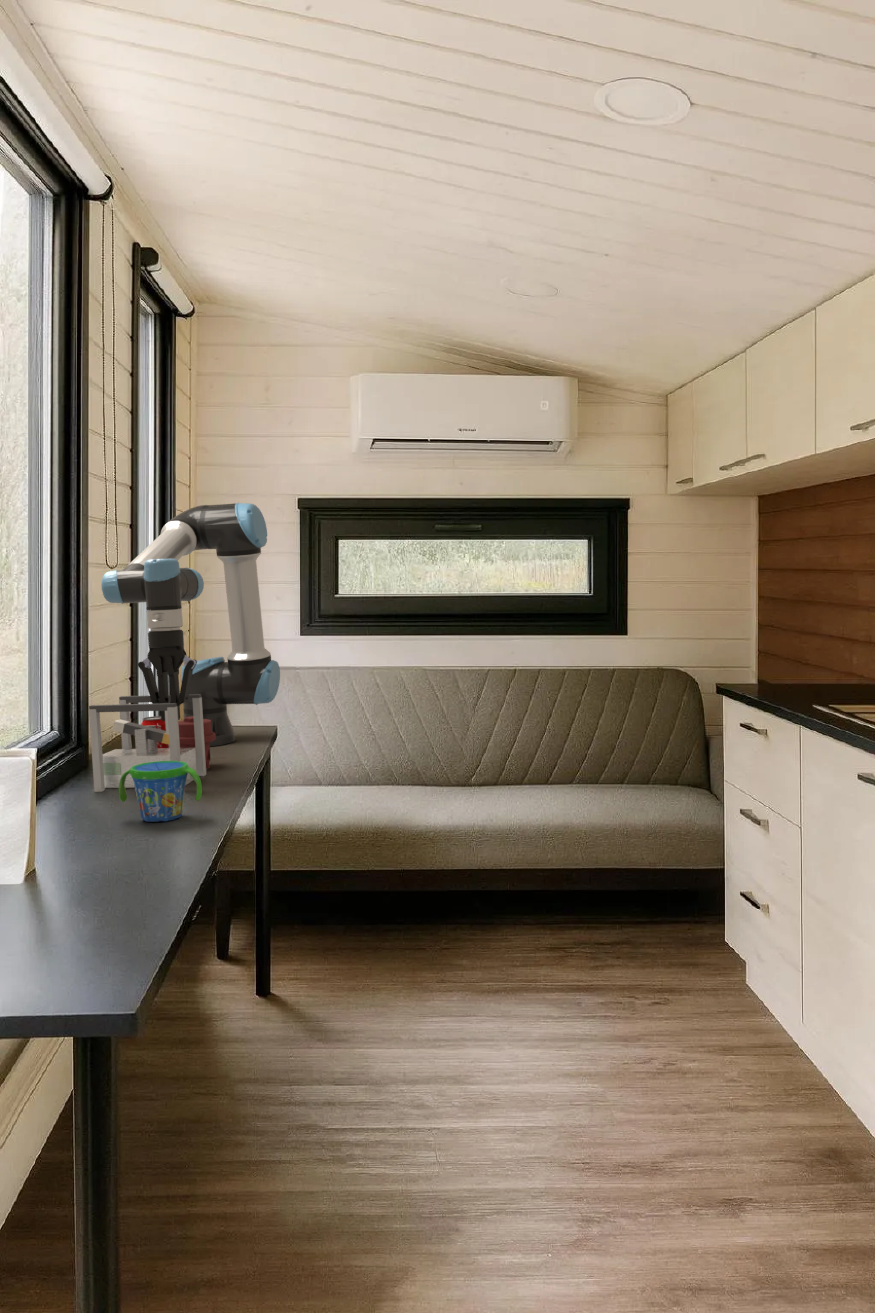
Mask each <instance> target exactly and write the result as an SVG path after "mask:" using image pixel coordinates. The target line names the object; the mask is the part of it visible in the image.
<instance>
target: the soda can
mask: <svg viewBox="0 0 875 1313" xmlns="http://www.w3.org/2000/svg"><path fill="white" fill-rule="evenodd" d="M140 725H144V726H153V725H156V729H160V730H164V731H166V723H165V721H162V719H161V715H155V716H146V717H143V718H142V722H141V723H140ZM157 748H170V745H169V744H165V743H162V742H158V741H157Z"/></svg>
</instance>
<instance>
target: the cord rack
mask: <svg viewBox="0 0 875 1313" xmlns="http://www.w3.org/2000/svg"><path fill="white" fill-rule="evenodd" d="M168 695H169V702H170V703H160V704H152V702H151V699H150V695H121V696H119V697H118V704H92V705H91V704H90V705H89V706H88V708H89V709H88V718H89V729H90V730H89V732H90V744H91V747H90V748H91V760H92V773H93V774H92V777H93V789H94V792H95V793H102V792H104V791H105V790H106V788H105V784H104V770H103V755H102V754H103V742H102V731H101V728H102V727H101V715H100V713H119V719H121V720H125V721H129V722H131V717H130V716H131V714H130V713H131V712H132V713H133V712H161V711H167V712H168V728H169V744H170V745H169V748H170V760H171V761H181V759H180V742H179V726H178V721H179V720H178V710H177V703H171V697H170V694H168ZM188 701H193V716H194V732H195V748H196V765H197V774H198V776H199V777H205V776H206V775H207V769H206V761H205V744H204V727H203V711H202V697H201V694H190V695H189V696H188ZM120 735H121V736H120V737H121V749H133V746H132V744H133V743H132V735H130V734H126V733H121V732H120Z"/></svg>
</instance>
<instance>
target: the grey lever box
mask: <svg viewBox="0 0 875 1313" xmlns="http://www.w3.org/2000/svg"><path fill="white" fill-rule="evenodd" d="M148 727H152V728H156V725H153V726H148ZM134 739H135V740H134V742H135V748H132V749H122V748H119V749H118V748H115V749H113V750H110V751H107V752H105V753H102V755H103V770H104V784H105V789H119V782H120V779H121V777H122V775H123V774H124V773H125V772H126V771H128V770H130V768H131V767H132V766H135V765H138V764H142V763H147V762H155V761H171V760H170V747H169V748H157V741H154V740H150V739H148V733H147V729H136V730H135V736H134ZM180 759H181V762H185V763H187V764H188V766H189V767H190V768H192V769H193V770H195V771H196V773H197V767H196V751H195V748H180ZM193 781H194V779H193V778H192V777H191V775H190V774H189V773H188V774H187V778H186V782H185V786H187V785H188V784H191V782H193ZM124 786H125V789H126V788H127V789H128V788H130V789H132V788H134V789H135V786H134V781H133V778H132V777H131V774H128V775H127V776H126V780H125V784H124Z"/></svg>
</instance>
